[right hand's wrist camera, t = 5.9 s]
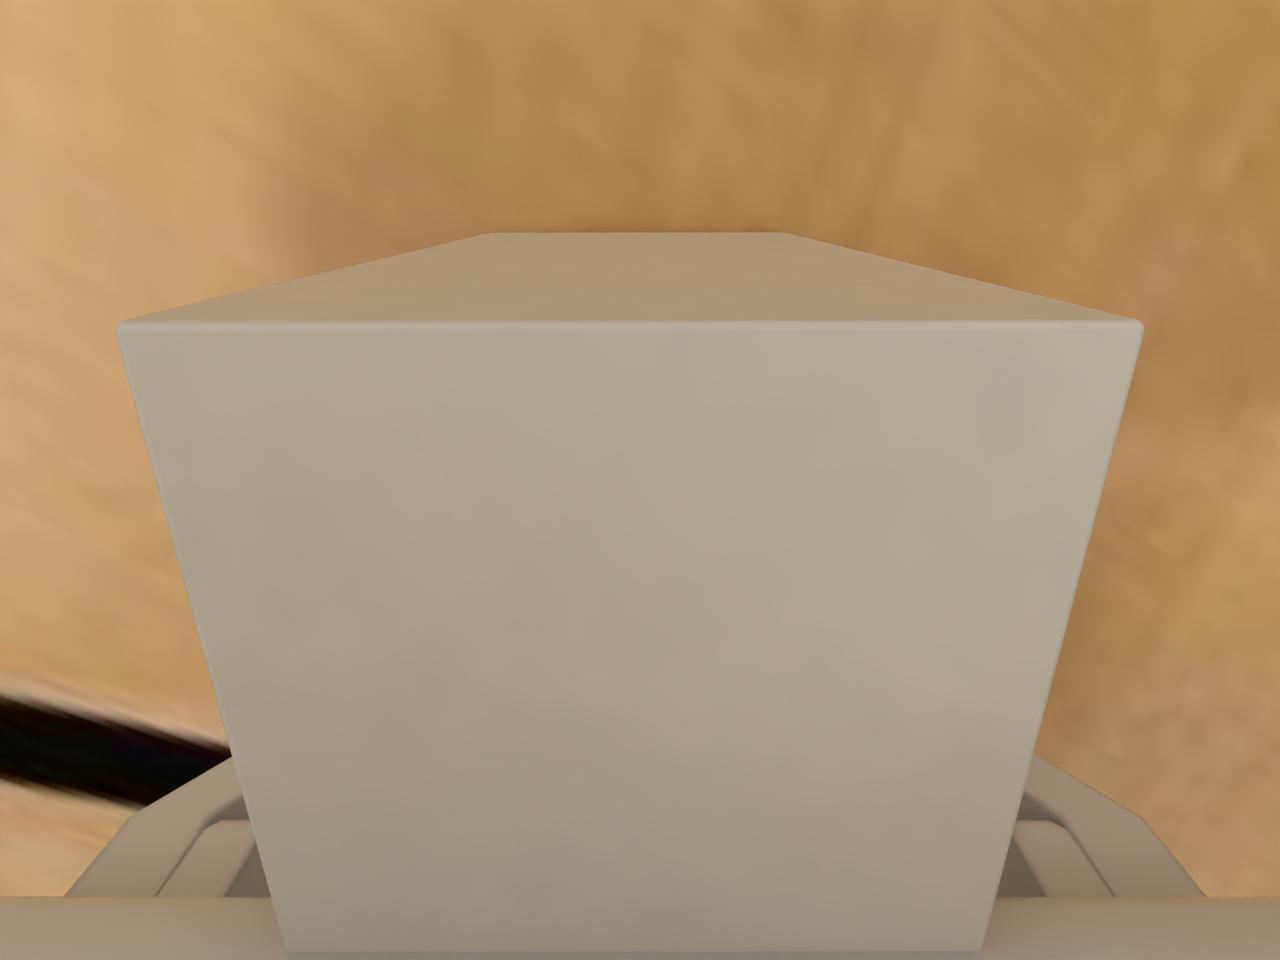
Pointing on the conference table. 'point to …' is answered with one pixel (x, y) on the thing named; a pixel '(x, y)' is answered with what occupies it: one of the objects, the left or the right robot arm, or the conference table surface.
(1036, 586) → the bar
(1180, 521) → the conference table surface
